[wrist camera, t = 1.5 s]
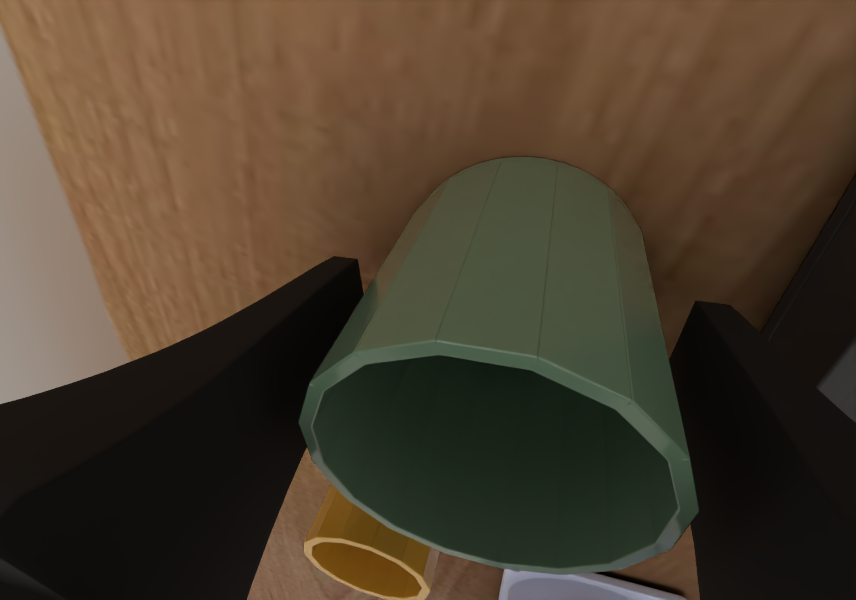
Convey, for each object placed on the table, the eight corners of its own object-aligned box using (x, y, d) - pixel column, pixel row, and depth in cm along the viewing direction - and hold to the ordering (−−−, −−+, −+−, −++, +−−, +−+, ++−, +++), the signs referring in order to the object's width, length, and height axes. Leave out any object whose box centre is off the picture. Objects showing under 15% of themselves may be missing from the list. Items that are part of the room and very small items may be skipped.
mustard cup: (467, 452, 17) (432, 613, 13) (377, 432, 18) (316, 578, 14) (470, 390, 15) (428, 563, 11) (365, 371, 16) (289, 524, 11)
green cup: (612, 366, 12) (631, 604, 8) (414, 334, 14) (334, 523, 9) (680, 164, 9) (786, 397, 4) (400, 148, 10) (256, 311, 6)
